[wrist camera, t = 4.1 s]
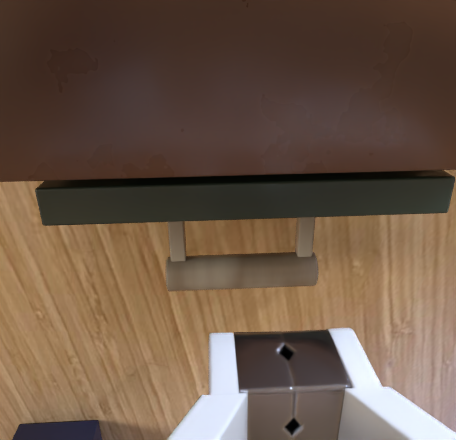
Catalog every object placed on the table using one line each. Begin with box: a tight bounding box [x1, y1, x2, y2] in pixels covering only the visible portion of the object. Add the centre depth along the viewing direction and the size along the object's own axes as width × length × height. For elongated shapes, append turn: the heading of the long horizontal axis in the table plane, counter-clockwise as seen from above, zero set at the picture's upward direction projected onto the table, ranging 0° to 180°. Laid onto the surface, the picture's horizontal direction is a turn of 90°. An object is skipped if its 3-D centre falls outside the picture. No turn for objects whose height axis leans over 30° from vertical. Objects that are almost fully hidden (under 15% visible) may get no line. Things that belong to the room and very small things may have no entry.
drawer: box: [35, 170, 455, 291], centre depth 13 cm, size 20×12×7 cm, turn 1°
